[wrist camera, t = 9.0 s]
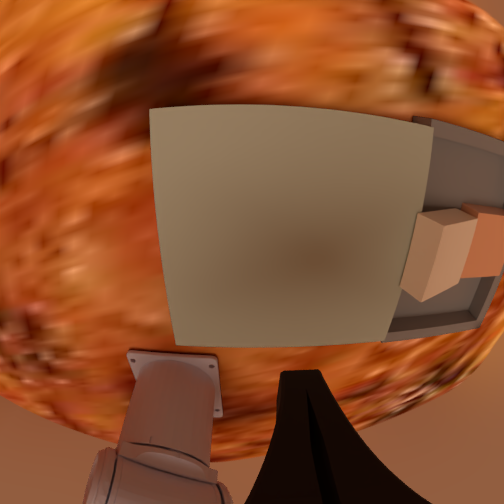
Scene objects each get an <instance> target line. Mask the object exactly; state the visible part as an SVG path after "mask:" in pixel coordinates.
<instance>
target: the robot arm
mask: <svg viewBox="0 0 504 504" xmlns="http://www.w3.org/2000/svg"><path fill="white" fill-rule="evenodd" d="M127 358H128V361H129V363H130V366H131V369H132V371H133V374H134V376H135V379H136V384H135V387H134V390H133V394H132V397H131V400H130V403H129V407H128V410H127V413H126V417H125V420H124V424H123V427H122V431H121V434H120V438H119V441H118V445H117V448H116V449H112V448H110V447H107V448H106V449H103V450H101V451H99V452H98V453H97V456H96V458H95V461H94V463H93V466H92V469H91V472H90V475H89V479H88V482H87V486H86V490H85V494H84V499H83V504H233V501H232V498H231V495H230V493H229V491H228V489H227V487H226V486H225V485H224V484H223V483H221V482H218V481H217V474H218V471H217V470H213V469H211V468H209V465H210V452H211V439H212V426H213V417H222V416H223V408H222V399H221V389H220V379H219V369H218V359H217V358H216V357H215V356H210V355H188V354H172V353H158V352H146V351H136V350H129V351H128V352H127ZM211 364H212V365H211ZM244 504H431V503H430V502H429V501H427V500H426V499H424V498H423V497H421V496H420V495H418V494H417V493H416V492H414V491H413V490H412V489H411V488H409V487H408V486H407V485H405V483H403V482H402V481H401V480H400V479H399V478H398V477H397V476H395V475H394V474H393V473H392V472H391V471H390V470H389V469H388V468H387V467H386V466H385V465H384V464H383V463H382V462H381V461H380V460H379V459H378V458H377V456H376V455H375V454H374V453H373V452H372V451H371V450H370V448H369V447H368V446H367V445H366V444H365V442H364V441H363V440H362V438H361V437H360V436H359V435H358V433H357V432H356V430H355V429H354V428H353V426H352V425H351V423H350V422H349V420H348V419H347V417H346V416H345V414H344V413H343V411H342V410H341V408H340V406H339V405H338V403H337V402H336V400H335V398H334V396H333V395H332V393H331V391H330V389H329V387H328V386H327V384H326V382H325V380H324V378H323V376H322V374H321V372H320V371H319V370H318V369H315V370H294V371H283V372H281V373H280V380H279V387H278V394H277V413H276V425H275V428H274V432H273V435H272V439H271V442H270V445H269V448H268V451H267V454H266V457H265V460H264V463H263V465H262V468H261V470H260V472H259V475H258V477H257V479H256V481H255V484H254V486H253V488H252V490H251V492H250V495H249V496H248V498H247V500H246V502H245V503H244Z"/></svg>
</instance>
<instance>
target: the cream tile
mask: <svg viewBox="0 0 504 504" xmlns="http://www.w3.org/2000/svg"><path fill="white" fill-rule="evenodd" d="M477 221H478V218H476V217H474V216H472V215H469V214H467V213H465V212H463V211H461V210H459V209H457V208H453V209H445V210H437V211H430V212H422V213H418V214H417V219H416V224H415V228H414V233H413V237H412V241H411V246H410V250H409V254H408V257H407V261H406V265H405V269H404V272H403V276H402V279H401V283H400V286H399V287H401V288H402V289H403V290H405V291H406V292H407V293H409V294H410V295H411V296H413V297H414V298H415V299H417V300H418V301H419V302H423V301H425V300H427V299H429V298H431V297H433V296H435V295H437V294H439V293H441V292H443V291H445V290H447V289H449V288H450V287H452V286H454V285H456V284H458V282H459V280H460V277H461V274H462V271H463V268H464V265H465V262H466V259H467V256H468V253H469V250H470V246H471V243H472V239H473V236H474V232H475V229H476V225H477Z"/></svg>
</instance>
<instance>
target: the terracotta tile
mask: <svg viewBox="0 0 504 504" xmlns="http://www.w3.org/2000/svg"><path fill="white" fill-rule="evenodd" d="M461 211H463V212H465V213H467V214H469V215H472V216H474V217H476V218H478V221H477V225H476V229H475V232H474V236H473V239H472V243H471V246H470V250H469V253H468V256H467V259H466V262H465V265H464V268H463V271H462V274H461V277H460V278H473V277H488V276H499V275H500V272H501V270H502V267H503V264H504V209H502V208H496V207H489V206H482V205H475V204H468V203H462V207H461Z"/></svg>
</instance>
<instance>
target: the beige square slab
mask: <svg viewBox="0 0 504 504" xmlns="http://www.w3.org/2000/svg"><path fill="white" fill-rule="evenodd" d="M433 132H434V127H430V126H425V125H421V124H417V123H412V122H407V121H402V120H397V119H392V118H387V117H381V116H375V115H369V114H362V113H355V112H348V111H340V110H331V109H321V108H310V107H297V106H280V105H198V106H180V107H167V108H157V109H150V139H151V158H152V173H153V186H154V198H155V208H156V218H157V227H158V236H159V244H160V252H161V259H162V267H163V273H164V280H165V287H166V293H167V299H168V305H169V310H170V316H171V322H172V327H173V332H174V337H175V342H176V345H182V346H203V347H302V346H323V345H339V344H353V343H365V342H375V341H384V340H385V338H386V335H387V332H388V330H389V327H390V324H391V321H392V318H393V315H394V313H395V310H396V307H397V304H398V300H399V297H400V294H401V291H402V288H401V287H399V286H400V283H401V279H402V276H403V272H404V269H405V265H406V261H407V257H408V254H409V250H410V246H411V241H412V237H413V233H414V228H415V224H416V219H417V214H418V213H422V208H423V203H424V197H425V192H426V186H427V180H428V173H429V166H430V159H431V151H432V142H433Z"/></svg>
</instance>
